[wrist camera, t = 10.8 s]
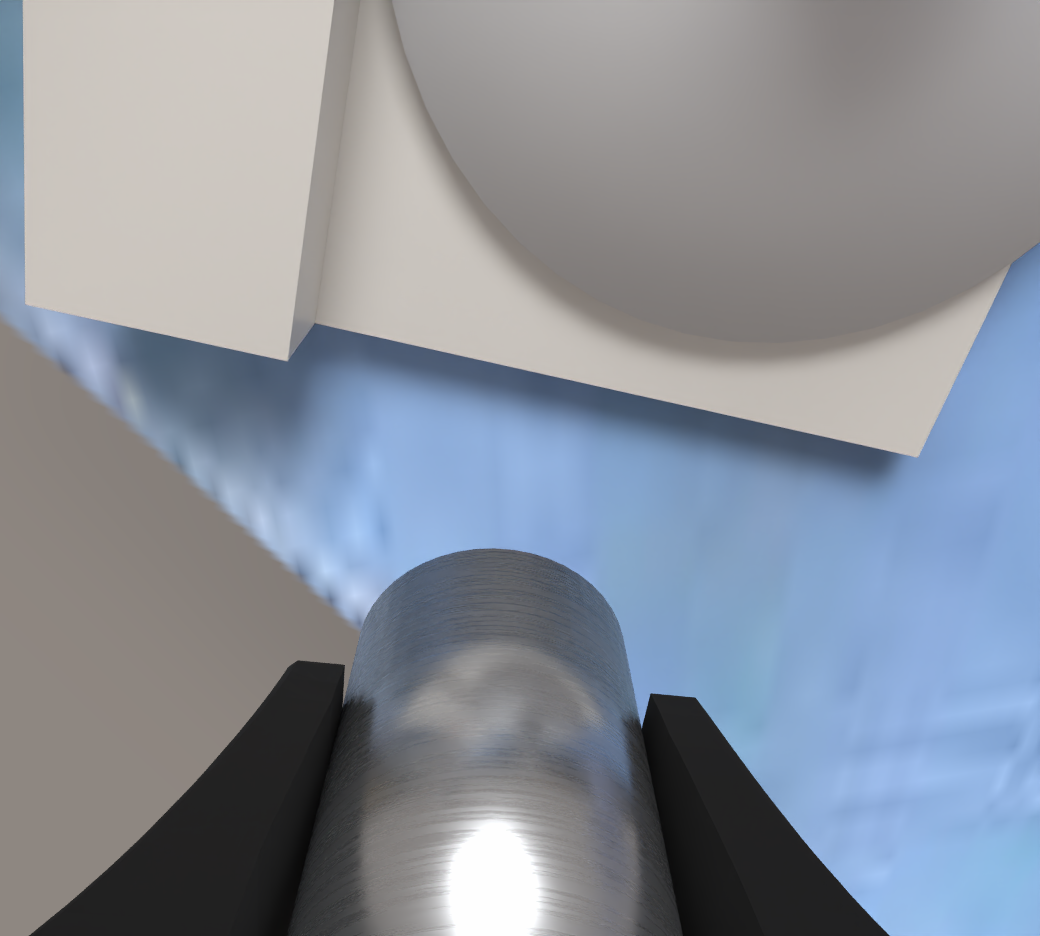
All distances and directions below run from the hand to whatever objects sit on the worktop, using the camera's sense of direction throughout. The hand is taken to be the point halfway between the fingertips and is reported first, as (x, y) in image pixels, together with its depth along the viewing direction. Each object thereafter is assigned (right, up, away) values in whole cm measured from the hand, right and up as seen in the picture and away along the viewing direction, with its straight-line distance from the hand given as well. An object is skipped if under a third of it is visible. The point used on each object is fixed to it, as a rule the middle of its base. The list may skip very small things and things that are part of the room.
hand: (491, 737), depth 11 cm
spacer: (0, +1, +1) cm, 2 cm away
